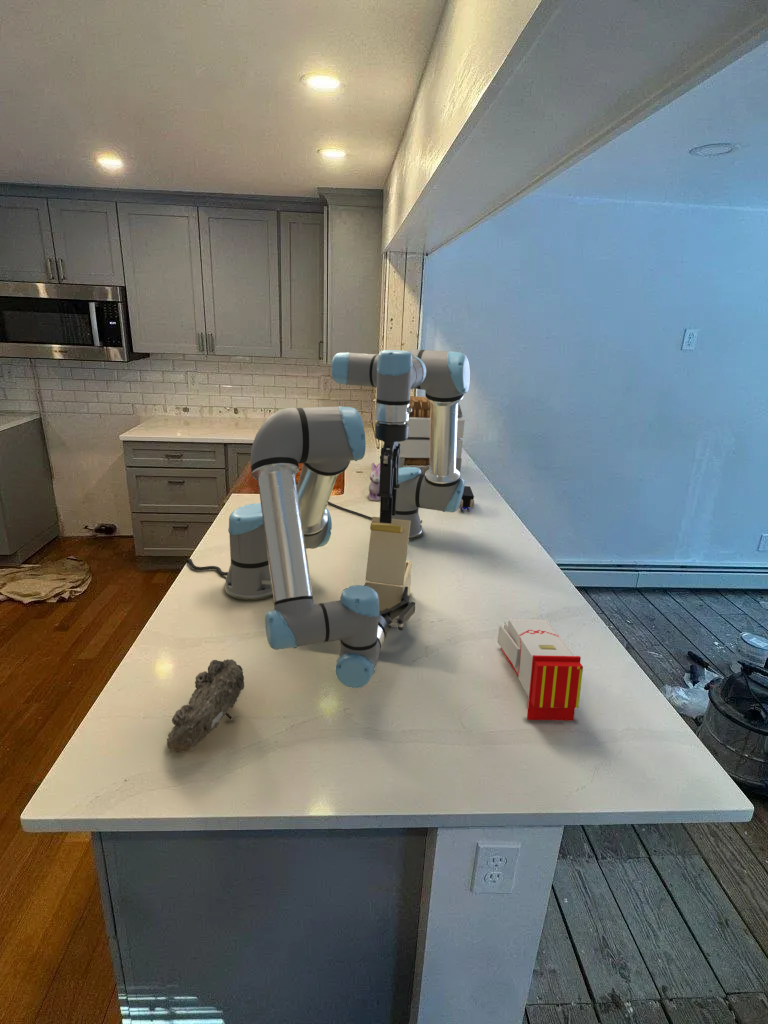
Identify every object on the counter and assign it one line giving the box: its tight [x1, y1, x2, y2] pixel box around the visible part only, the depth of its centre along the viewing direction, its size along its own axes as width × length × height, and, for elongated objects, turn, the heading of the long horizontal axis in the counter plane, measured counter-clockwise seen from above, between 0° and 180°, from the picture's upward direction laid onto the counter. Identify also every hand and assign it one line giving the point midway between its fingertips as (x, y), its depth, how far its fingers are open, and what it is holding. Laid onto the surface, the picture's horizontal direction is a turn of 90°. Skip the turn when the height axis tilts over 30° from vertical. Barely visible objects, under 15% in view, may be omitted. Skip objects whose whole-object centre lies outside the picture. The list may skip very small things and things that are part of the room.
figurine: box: [367, 462, 381, 502], centre depth 234 cm, size 9×10×15 cm
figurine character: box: [458, 485, 475, 513], centre depth 228 cm, size 7×8×15 cm
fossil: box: [166, 658, 245, 754], centre depth 106 cm, size 22×10×15 cm
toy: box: [497, 618, 584, 722], centre depth 122 cm, size 12×13×30 cm
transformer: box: [398, 395, 465, 475], centre depth 268 cm, size 34×33×41 cm
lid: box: [365, 516, 411, 585], centre depth 138 cm, size 16×10×9 cm
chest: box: [365, 560, 413, 621], centre depth 150 cm, size 15×10×10 cm, turn 169°
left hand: (386, 588), depth 146 cm, fingers closed on chest, 10 cm apart
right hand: (387, 518), depth 135 cm, fingers open, 5 cm apart
